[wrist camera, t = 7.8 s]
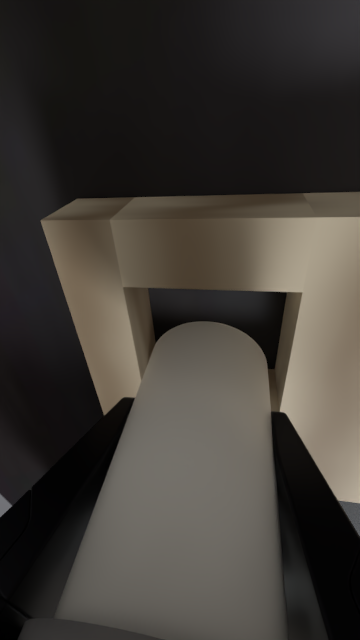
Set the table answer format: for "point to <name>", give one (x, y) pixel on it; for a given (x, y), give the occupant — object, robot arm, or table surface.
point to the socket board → (227, 274)
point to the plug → (184, 506)
